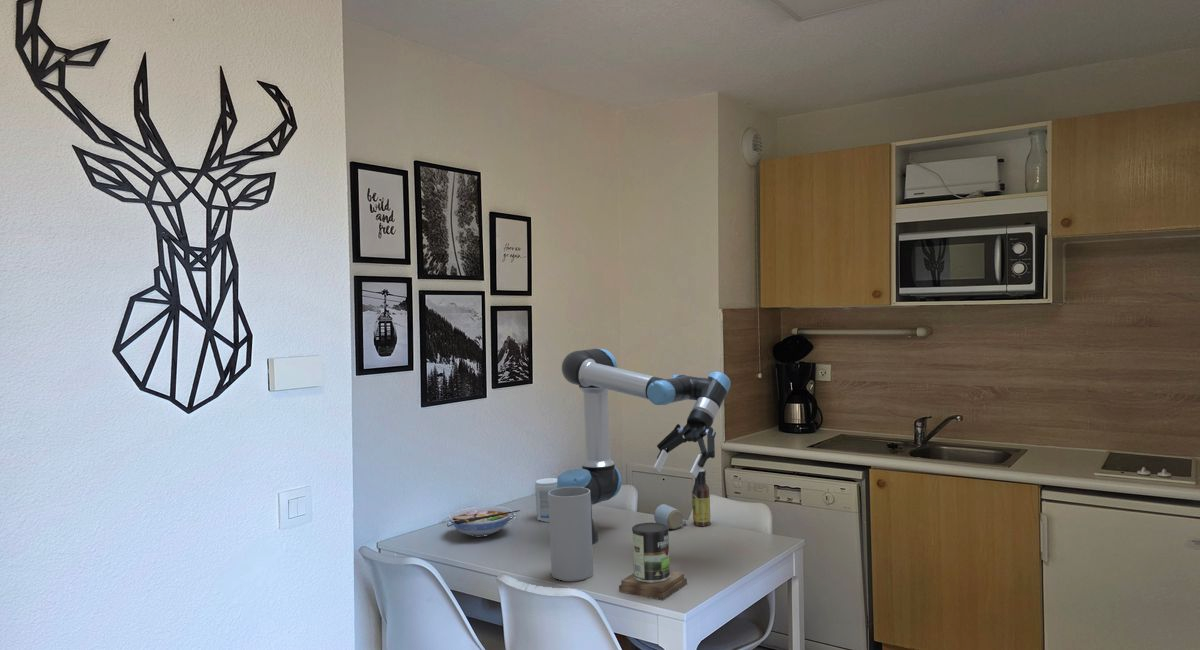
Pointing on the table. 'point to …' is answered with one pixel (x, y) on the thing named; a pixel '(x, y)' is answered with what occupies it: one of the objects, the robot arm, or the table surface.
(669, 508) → the ceramic mug
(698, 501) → the sauce bottle
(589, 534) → the cylinder vase
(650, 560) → the coffee can
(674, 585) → the walnut plinth
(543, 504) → the supplement tub
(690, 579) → the table surface
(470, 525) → the ramen bowl
